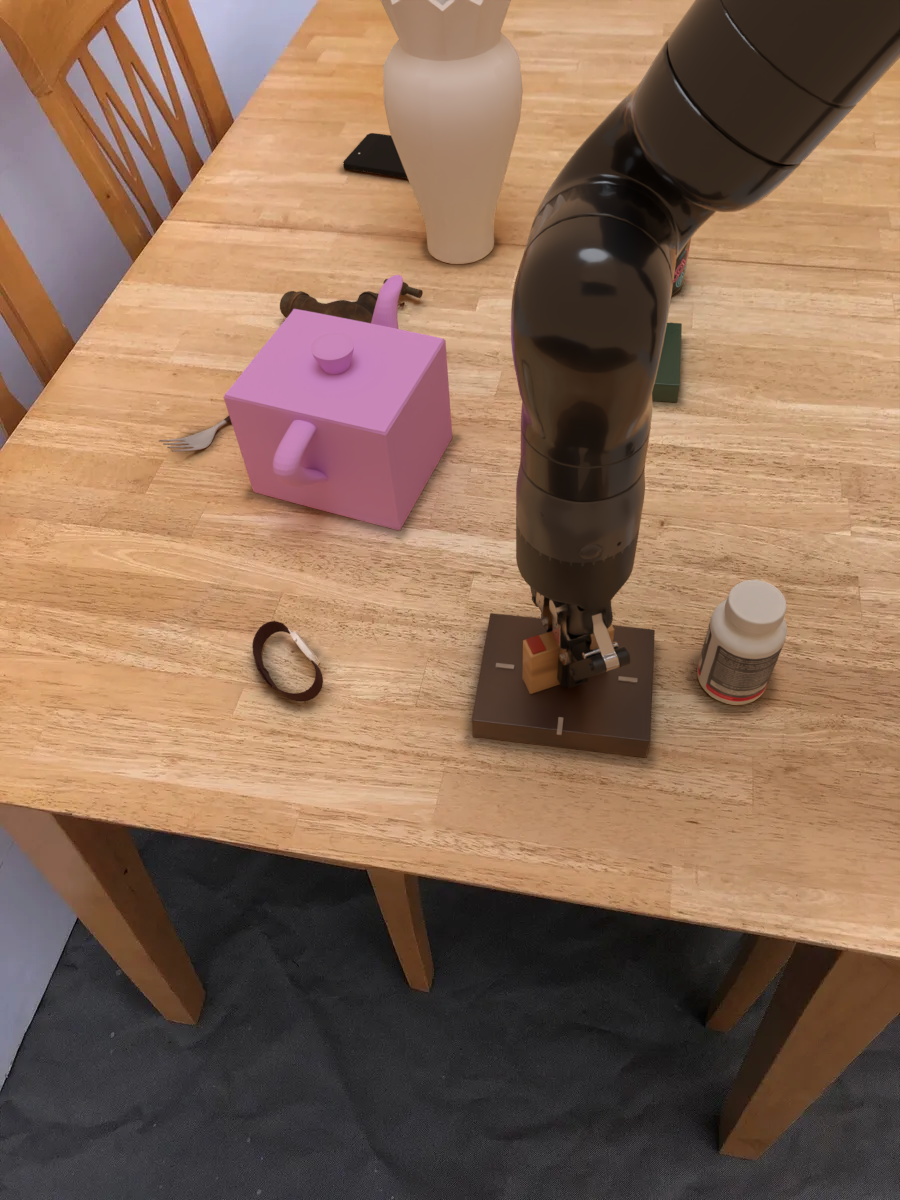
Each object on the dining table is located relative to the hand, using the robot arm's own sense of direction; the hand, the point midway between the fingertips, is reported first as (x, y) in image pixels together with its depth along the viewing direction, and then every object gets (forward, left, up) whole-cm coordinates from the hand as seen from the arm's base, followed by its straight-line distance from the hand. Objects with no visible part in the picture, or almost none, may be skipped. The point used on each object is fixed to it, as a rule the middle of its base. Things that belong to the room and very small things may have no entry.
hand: (565, 667), depth 70 cm
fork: (+36, -28, -3) cm, 46 cm away
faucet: (+26, -44, -3) cm, 51 cm away
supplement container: (-5, -55, -3) cm, 55 cm away
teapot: (+22, -24, -3) cm, 33 cm away
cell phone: (+27, -80, -3) cm, 84 cm away
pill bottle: (-13, -3, -3) cm, 13 cm away
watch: (+22, +1, -3) cm, 22 cm away
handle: (0, 0, -1) cm, 1 cm away
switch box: (-2, -40, -3) cm, 40 cm away
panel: (0, 0, -3) cm, 3 cm away
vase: (+18, -61, -3) cm, 64 cm away
